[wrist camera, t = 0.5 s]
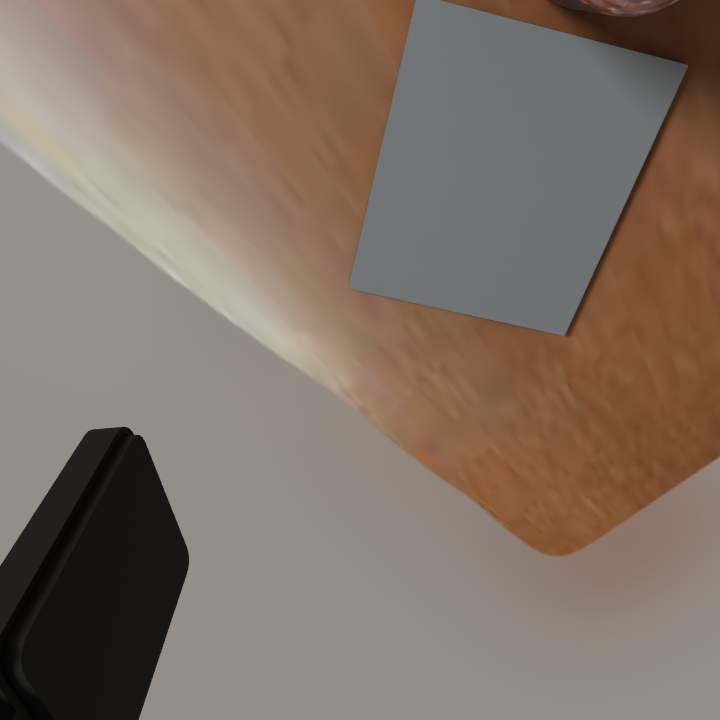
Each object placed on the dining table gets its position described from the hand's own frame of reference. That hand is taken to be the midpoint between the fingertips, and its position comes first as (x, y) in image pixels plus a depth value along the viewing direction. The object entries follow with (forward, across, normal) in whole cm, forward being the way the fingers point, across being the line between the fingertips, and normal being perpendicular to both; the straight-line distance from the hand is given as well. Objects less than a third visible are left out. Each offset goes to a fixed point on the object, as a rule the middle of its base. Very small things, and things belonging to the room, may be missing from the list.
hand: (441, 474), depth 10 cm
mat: (+28, -5, +4) cm, 29 cm away
